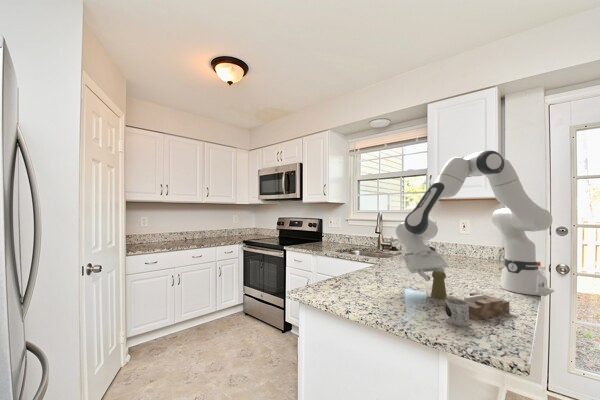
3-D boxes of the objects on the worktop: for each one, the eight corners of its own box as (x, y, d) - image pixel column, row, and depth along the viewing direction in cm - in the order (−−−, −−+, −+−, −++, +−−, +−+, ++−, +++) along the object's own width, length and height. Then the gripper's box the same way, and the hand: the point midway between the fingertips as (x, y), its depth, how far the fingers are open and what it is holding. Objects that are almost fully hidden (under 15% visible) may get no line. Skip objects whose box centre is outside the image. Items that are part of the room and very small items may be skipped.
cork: (449, 300, 110) (449, 273, 110) (433, 298, 111) (433, 272, 112) (444, 295, 116) (444, 269, 116) (429, 294, 117) (429, 269, 118)
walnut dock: (476, 302, 108) (476, 289, 108) (509, 313, 97) (509, 299, 97) (444, 307, 101) (444, 294, 101) (476, 320, 90) (476, 305, 90)
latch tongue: (481, 306, 102) (480, 294, 102) (483, 307, 101) (483, 295, 101) (464, 309, 98) (464, 296, 98) (467, 310, 97) (467, 297, 97)
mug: (444, 317, 92) (444, 297, 92) (466, 320, 90) (466, 300, 90) (447, 328, 83) (447, 306, 83) (472, 332, 80) (472, 310, 81)
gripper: (404, 249, 118) (422, 277, 109) (438, 247, 126) (457, 273, 117) (397, 257, 122) (414, 285, 113) (430, 255, 130) (448, 281, 121)
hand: (436, 279), depth 115 cm, fingers open, 8 cm apart
